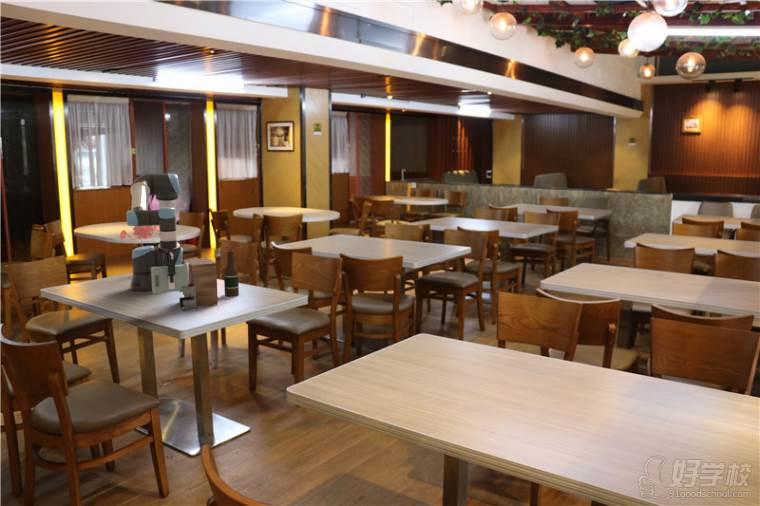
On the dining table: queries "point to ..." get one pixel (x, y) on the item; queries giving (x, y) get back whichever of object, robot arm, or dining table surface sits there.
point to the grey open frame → (188, 298)
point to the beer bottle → (231, 277)
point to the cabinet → (203, 280)
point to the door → (162, 279)
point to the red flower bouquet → (140, 232)
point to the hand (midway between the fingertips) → (170, 288)
